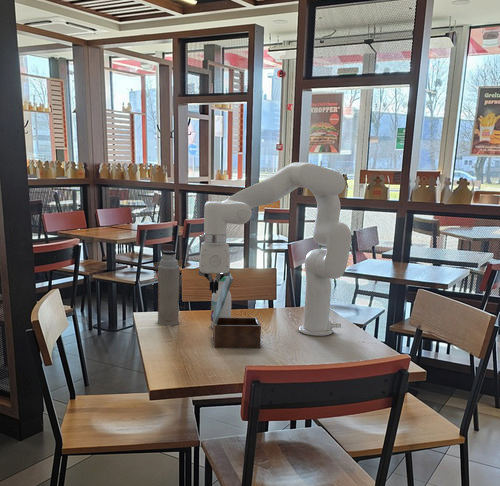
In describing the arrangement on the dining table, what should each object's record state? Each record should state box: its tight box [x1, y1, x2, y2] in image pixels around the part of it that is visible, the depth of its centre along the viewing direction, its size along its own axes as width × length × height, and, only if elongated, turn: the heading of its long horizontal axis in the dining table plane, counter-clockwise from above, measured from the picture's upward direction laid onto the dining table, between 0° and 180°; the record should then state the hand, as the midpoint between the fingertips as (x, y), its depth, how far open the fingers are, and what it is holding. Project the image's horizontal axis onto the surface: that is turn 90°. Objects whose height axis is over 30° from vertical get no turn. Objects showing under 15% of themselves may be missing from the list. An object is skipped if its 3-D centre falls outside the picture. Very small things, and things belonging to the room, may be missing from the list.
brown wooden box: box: [212, 316, 262, 349], centre depth 200 cm, size 16×11×8 cm
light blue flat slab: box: [212, 273, 234, 324], centre depth 197 cm, size 16×11×1 cm
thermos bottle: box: [157, 250, 180, 327], centre depth 220 cm, size 8×8×28 cm
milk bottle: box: [210, 276, 232, 329], centre depth 218 cm, size 8×8×20 cm
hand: (213, 292), depth 196 cm, fingers closed
